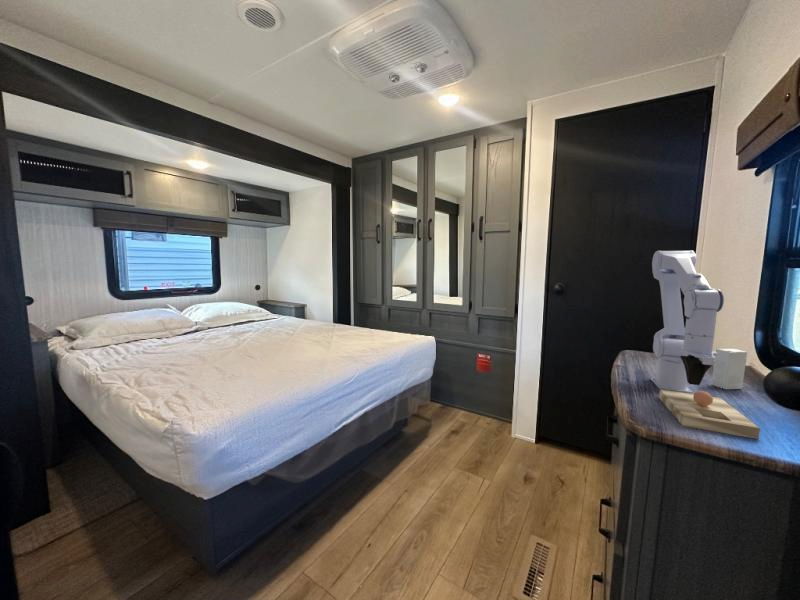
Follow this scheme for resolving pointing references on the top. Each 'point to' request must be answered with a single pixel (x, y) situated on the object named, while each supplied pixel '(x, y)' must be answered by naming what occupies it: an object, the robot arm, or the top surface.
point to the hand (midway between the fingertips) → (693, 383)
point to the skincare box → (729, 368)
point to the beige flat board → (708, 414)
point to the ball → (703, 398)
